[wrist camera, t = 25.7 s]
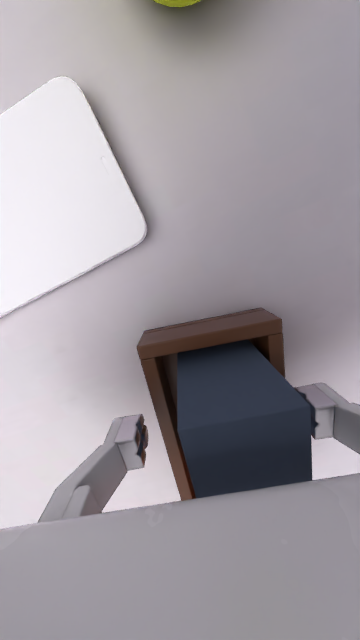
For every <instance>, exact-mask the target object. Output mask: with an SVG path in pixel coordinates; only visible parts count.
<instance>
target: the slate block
mask: <svg viewBox="0 0 360 640" xmlns="http://www.w3.org/2000/svg"><path fill="white" fill-rule="evenodd" d="M177 425H178V434H179V437H180V441H181V445H182V448H183V452H184V455H185V459H186V463H187V466H188V470H189V474H190V477H191V481H192V484H193V488H194V492H195V495H196V498H202V497H209V496H215V495H222V494H228V493H235V492H241V491H248V490H254V489H261V488H267V487H274V486H280V485H286V484H293V483H299V482H306V481H312V453H311V411H310V405H309V404H308V403H307V402H306V401H305V400H304V398H303V397H302V396H301V395H300V394H299V393H298V392H297V391H296V390H295V389H294V388H293V387H292V386H291V385H290V384H289V383H288V381H287V380H286V379H285V378H284V377H283V376H282V375H281V374H280V373H279V372H278V371H277V370H276V369H275V368H274V367H273V365H272V364H271V363H270V362H269V361H268V360H267V359H266V358H265V357H264V356H263V355H262V354H261V353H260V352H259V351H258V350H257V348H256V347H255V346H254V345H253V344H252V343H251V342H250V341H249V340H248V339H246V340H241V341H236V342H231V343H226V344H220V345H215V346H210V347H205V348H200V349H194V350H189V351H184V352H179V353H177Z"/></svg>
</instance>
